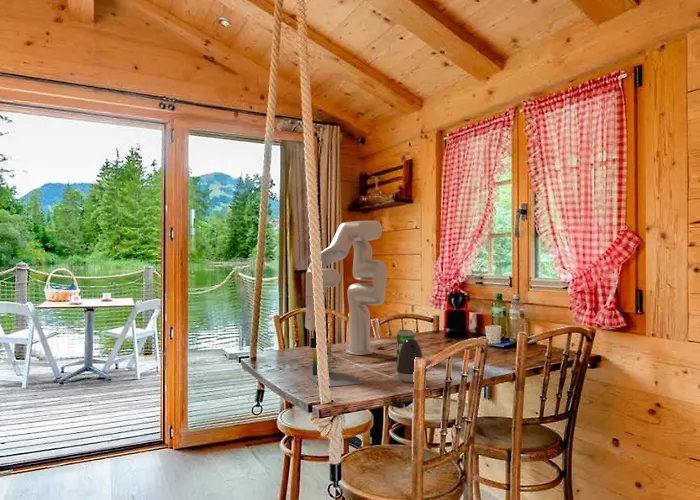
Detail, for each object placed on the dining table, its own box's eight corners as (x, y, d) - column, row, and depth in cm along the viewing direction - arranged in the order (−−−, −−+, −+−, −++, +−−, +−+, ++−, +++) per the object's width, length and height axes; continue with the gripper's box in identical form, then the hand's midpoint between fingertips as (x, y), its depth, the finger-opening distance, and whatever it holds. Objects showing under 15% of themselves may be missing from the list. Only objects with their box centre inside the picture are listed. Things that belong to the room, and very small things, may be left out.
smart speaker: (398, 384, 170) (399, 340, 170) (394, 377, 180) (394, 335, 181) (428, 384, 171) (428, 340, 171) (421, 377, 181) (421, 335, 181)
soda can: (394, 357, 217) (394, 329, 217) (409, 356, 219) (410, 328, 219) (401, 360, 210) (401, 332, 210) (417, 359, 212) (417, 331, 212)
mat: (307, 376, 180) (307, 376, 180) (346, 373, 186) (346, 372, 186) (322, 388, 165) (322, 387, 165) (363, 383, 171) (363, 383, 171)
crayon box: (326, 371, 189) (326, 341, 189) (331, 372, 187) (332, 342, 187) (312, 374, 184) (312, 343, 184) (317, 376, 182) (317, 344, 182)
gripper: (300, 299, 199) (300, 345, 199) (311, 302, 185) (311, 351, 185) (318, 299, 202) (317, 344, 202) (330, 302, 188) (330, 350, 188)
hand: (314, 347), depth 194 cm, fingers closed
